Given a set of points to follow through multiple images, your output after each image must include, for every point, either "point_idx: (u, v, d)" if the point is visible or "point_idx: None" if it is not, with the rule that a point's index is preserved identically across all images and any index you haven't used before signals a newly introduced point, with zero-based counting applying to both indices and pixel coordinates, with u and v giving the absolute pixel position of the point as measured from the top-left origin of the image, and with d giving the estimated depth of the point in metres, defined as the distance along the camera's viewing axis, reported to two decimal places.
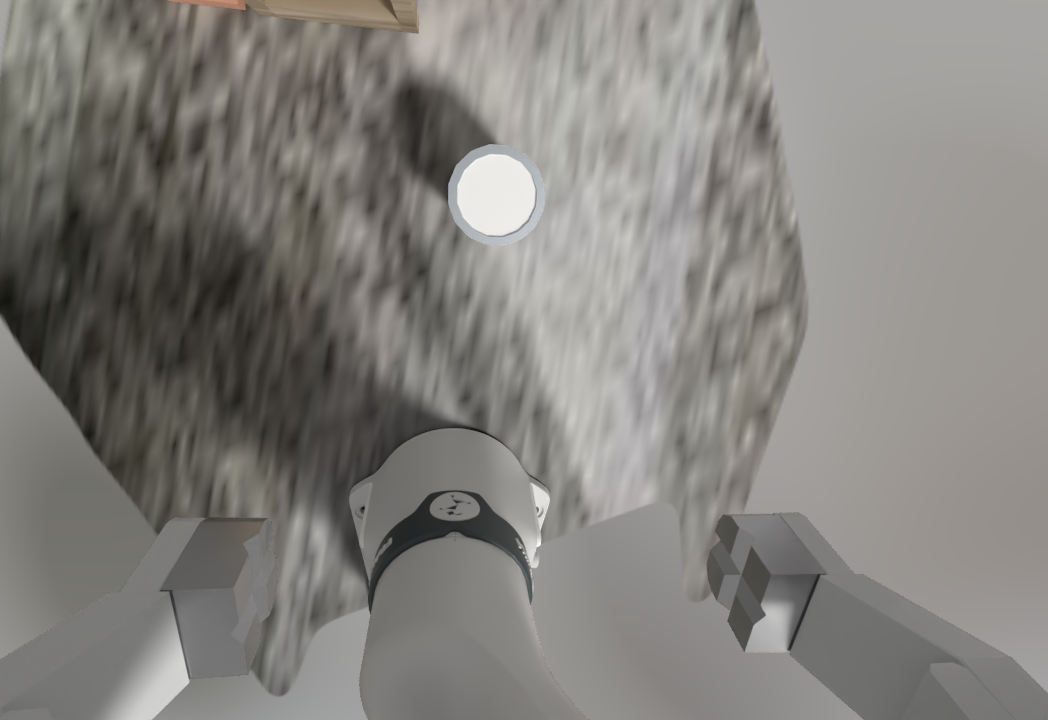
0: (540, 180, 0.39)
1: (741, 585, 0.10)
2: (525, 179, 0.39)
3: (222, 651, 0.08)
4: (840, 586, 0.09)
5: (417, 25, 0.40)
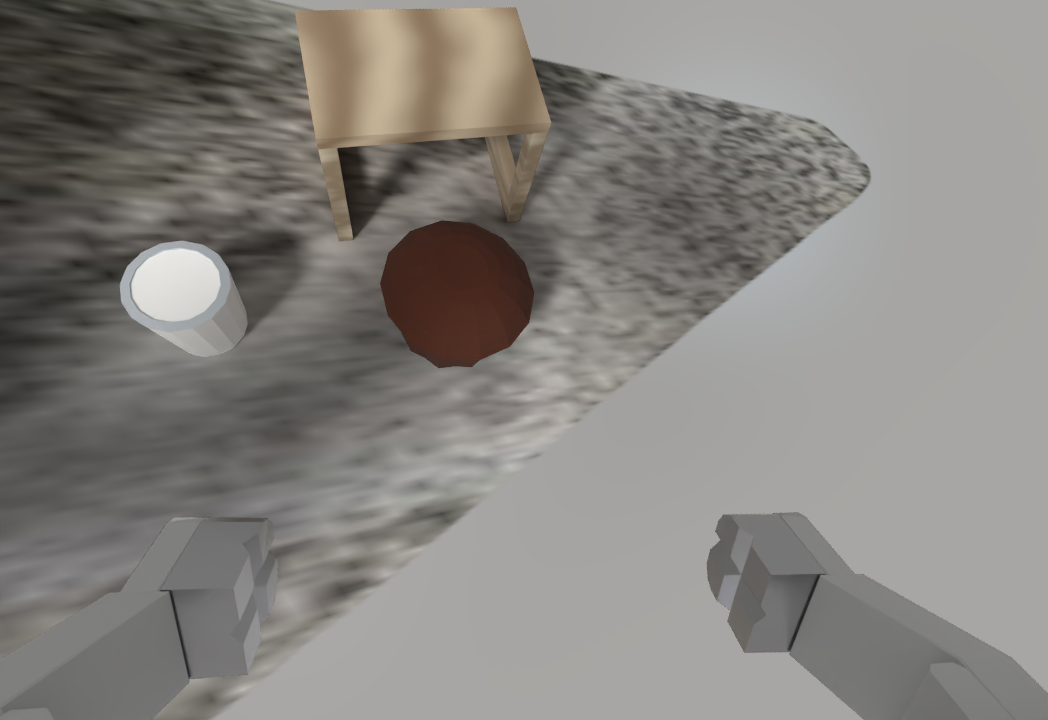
0: (200, 321, 0.38)
1: (741, 585, 0.10)
2: (198, 307, 0.38)
3: (222, 651, 0.08)
4: (839, 586, 0.09)
5: (340, 232, 0.48)
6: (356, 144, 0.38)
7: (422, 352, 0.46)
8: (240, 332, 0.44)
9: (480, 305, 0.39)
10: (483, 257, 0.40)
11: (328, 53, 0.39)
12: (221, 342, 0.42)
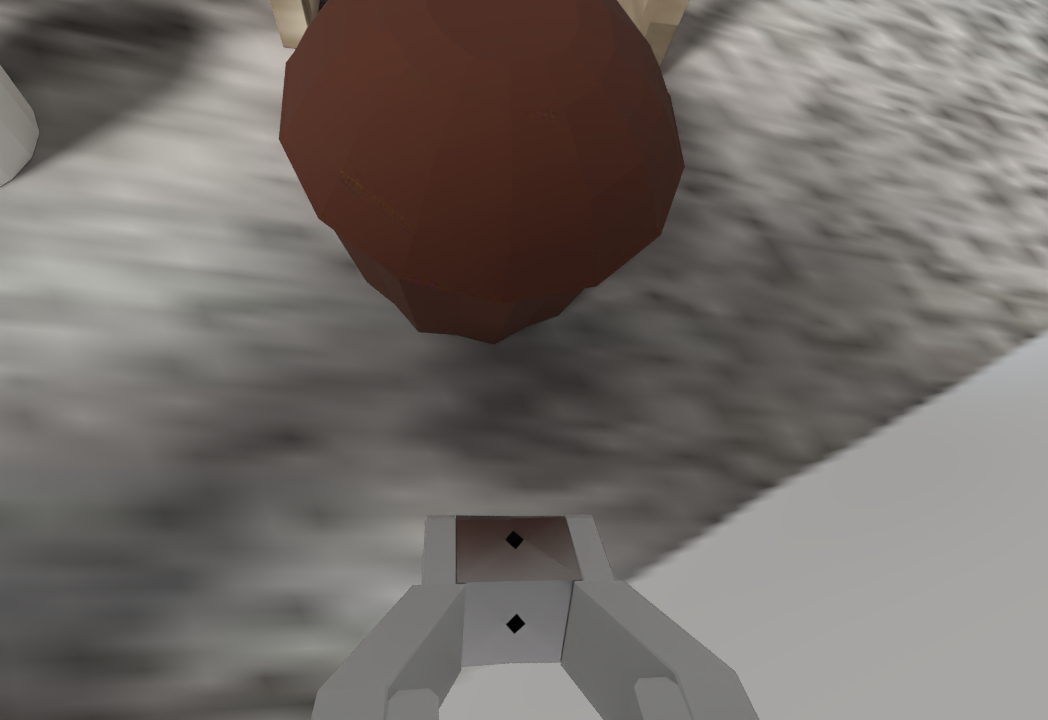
0: None
1: None
2: None
3: (494, 640, 0.09)
4: (588, 593, 0.08)
5: (281, 19, 0.23)
6: None
7: (382, 283, 0.19)
8: None
9: (532, 123, 0.12)
10: None
11: None
12: None
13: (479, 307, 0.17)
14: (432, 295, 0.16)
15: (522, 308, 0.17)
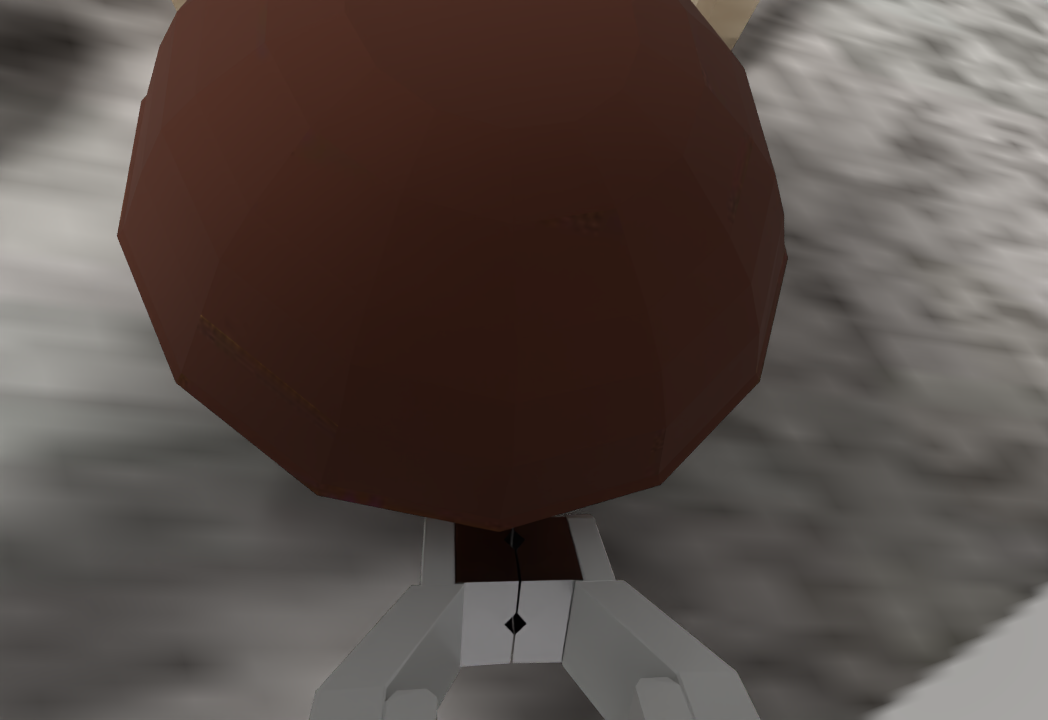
0: None
1: None
2: None
3: (493, 640, 0.09)
4: (590, 593, 0.08)
5: None
6: None
7: None
8: None
9: (555, 236, 0.06)
10: None
11: None
12: None
13: None
14: None
15: None
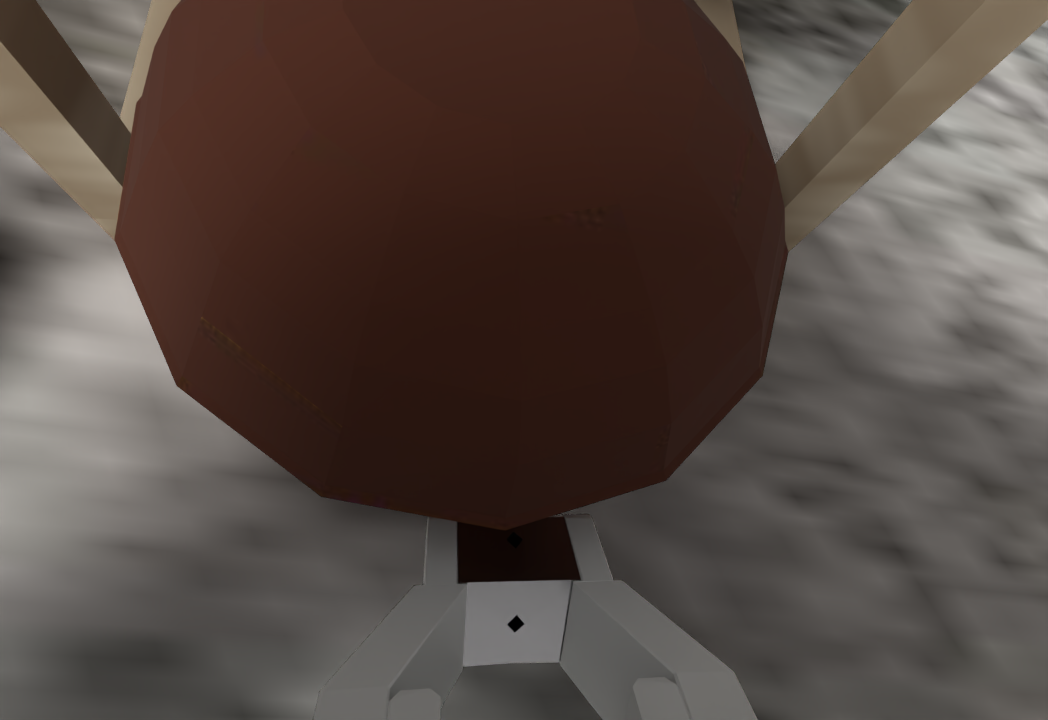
0: None
1: None
2: None
3: (496, 640, 0.09)
4: (587, 593, 0.08)
5: None
6: None
7: None
8: None
9: (559, 233, 0.06)
10: None
11: None
12: None
13: None
14: None
15: None
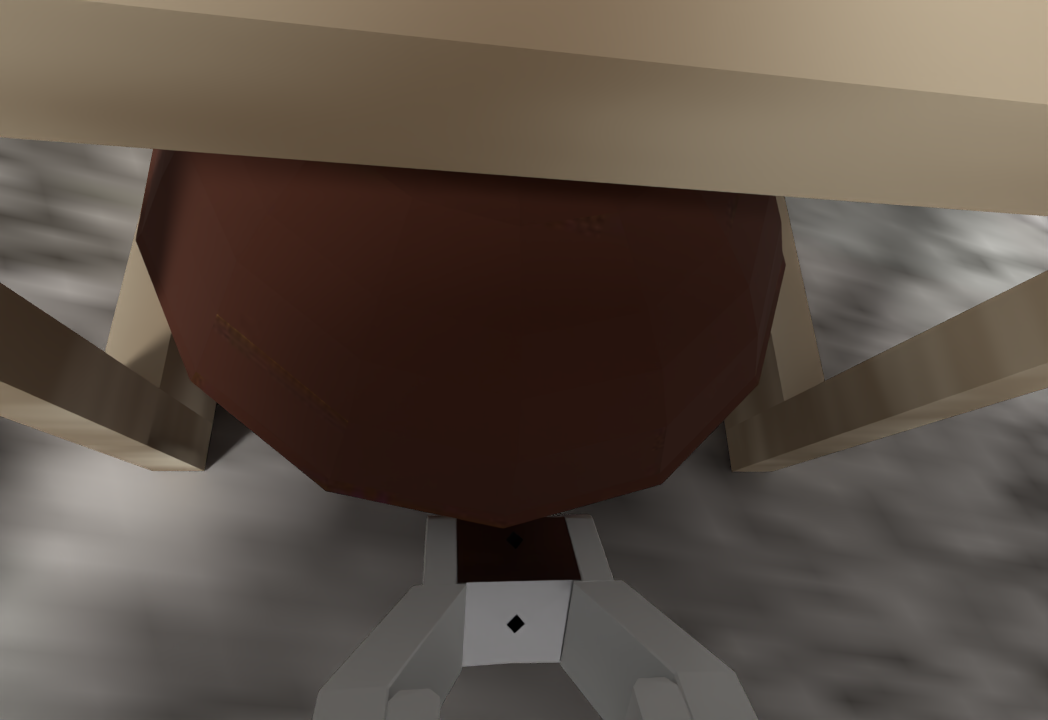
0: None
1: None
2: None
3: (495, 640, 0.09)
4: (587, 593, 0.08)
5: (137, 461, 0.13)
6: None
7: None
8: None
9: (560, 238, 0.07)
10: None
11: None
12: None
13: None
14: None
15: None
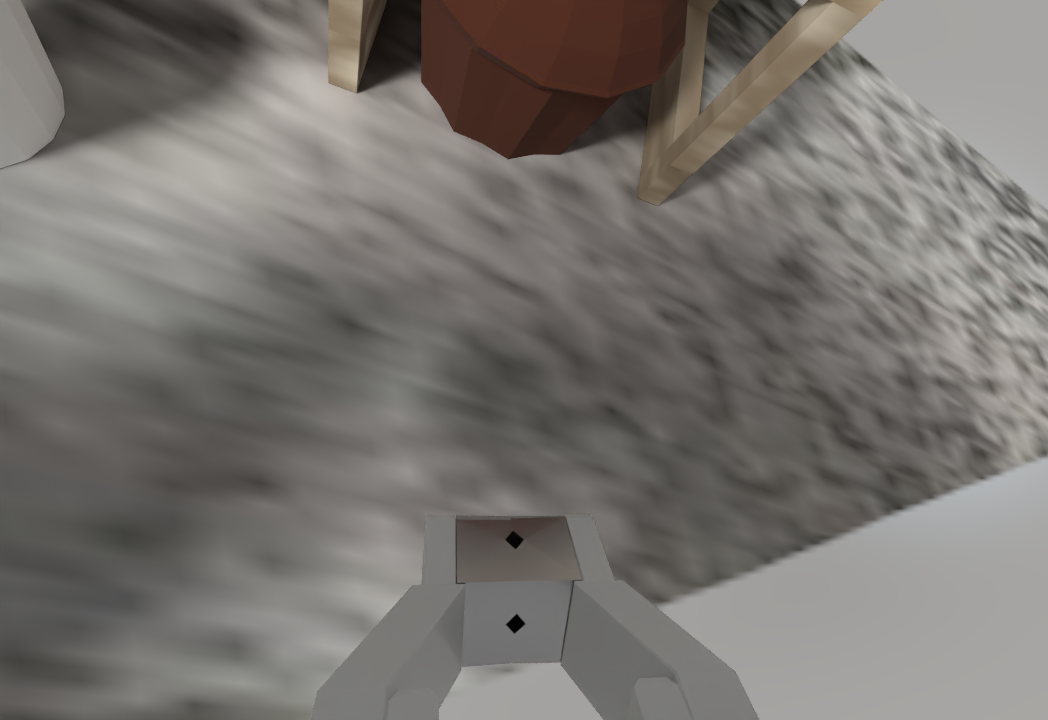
0: None
1: None
2: None
3: (495, 640, 0.09)
4: (588, 593, 0.08)
5: (334, 63, 0.23)
6: None
7: (439, 78, 0.24)
8: (10, 142, 0.19)
9: None
10: None
11: None
12: None
13: (515, 105, 0.23)
14: (485, 83, 0.22)
15: (545, 117, 0.23)
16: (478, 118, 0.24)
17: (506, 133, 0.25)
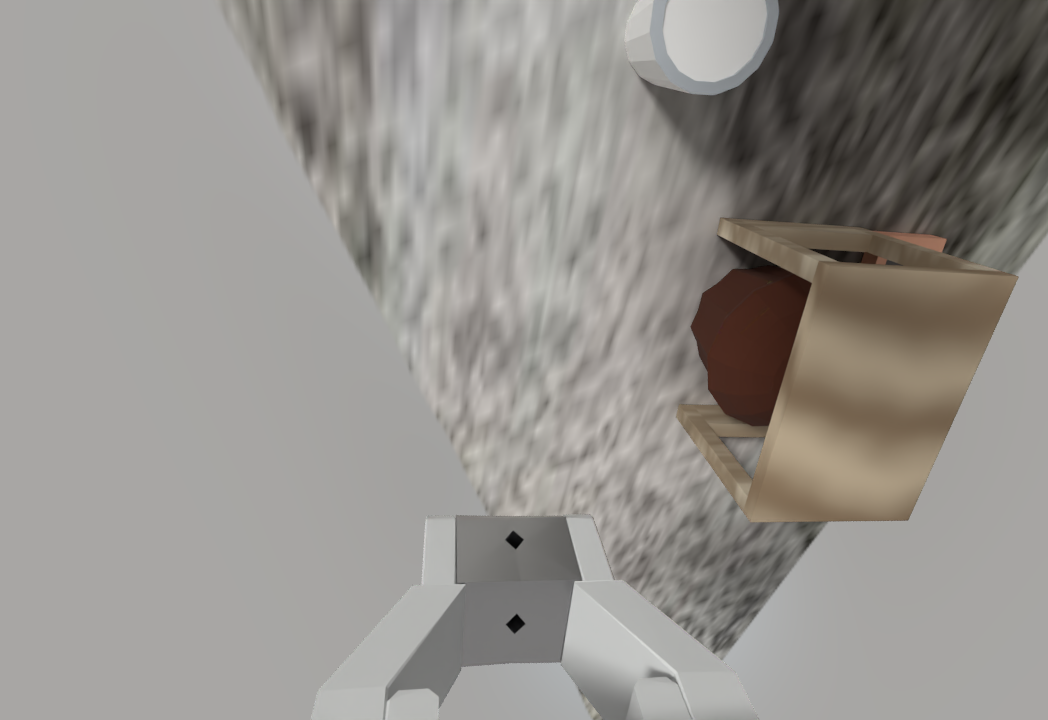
0: (655, 44, 0.29)
1: None
2: (674, 46, 0.29)
3: (495, 640, 0.09)
4: (588, 593, 0.08)
5: (727, 224, 0.39)
6: (806, 307, 0.30)
7: (728, 285, 0.41)
8: (642, 75, 0.35)
9: (770, 382, 0.35)
10: None
11: (941, 305, 0.30)
12: (634, 51, 0.33)
13: (708, 336, 0.40)
14: (717, 319, 0.39)
15: (704, 352, 0.41)
16: (706, 310, 0.41)
17: (699, 327, 0.42)
